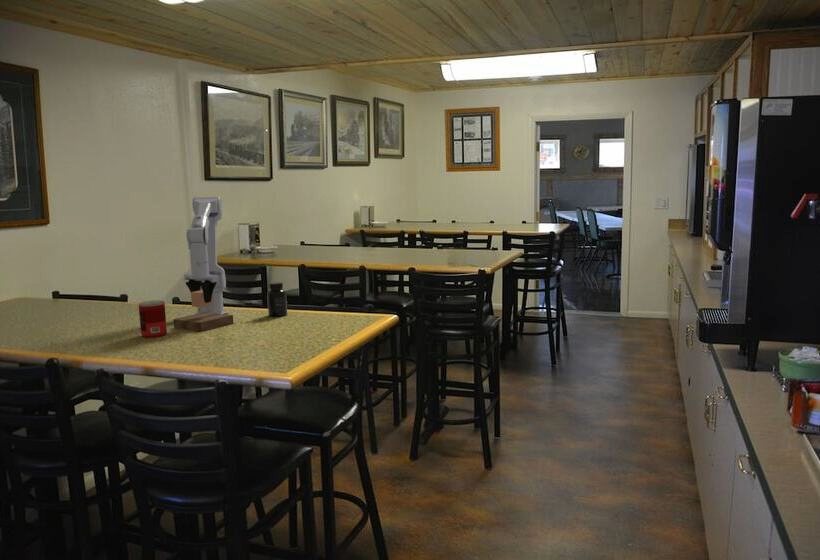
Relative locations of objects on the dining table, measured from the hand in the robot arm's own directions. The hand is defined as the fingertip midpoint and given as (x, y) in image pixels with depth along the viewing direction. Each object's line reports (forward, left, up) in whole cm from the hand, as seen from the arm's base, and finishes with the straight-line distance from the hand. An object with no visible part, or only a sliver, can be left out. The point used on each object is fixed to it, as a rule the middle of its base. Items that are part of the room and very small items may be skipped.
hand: (202, 301), depth 232 cm
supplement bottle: (+11, +25, -9) cm, 29 cm away
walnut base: (0, 0, -8) cm, 8 cm away
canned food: (-3, -18, -9) cm, 20 cm away
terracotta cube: (0, 0, -1) cm, 1 cm away
